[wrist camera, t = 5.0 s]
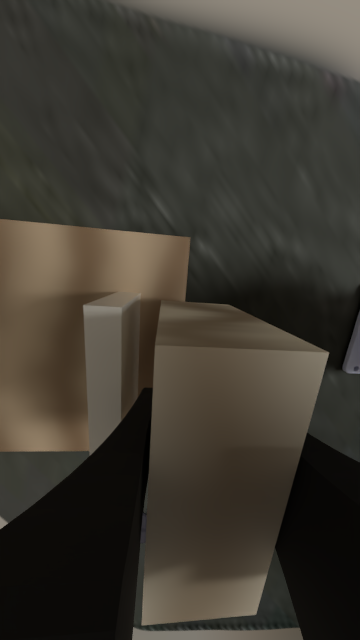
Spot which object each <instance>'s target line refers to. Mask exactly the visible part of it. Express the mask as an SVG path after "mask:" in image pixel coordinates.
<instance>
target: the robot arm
mask: <svg viewBox="0 0 360 640" xmlns="http://www.w3.org/2000/svg"><path fill="white" fill-rule="evenodd" d="M342 369H343V371H345V372H347V373H354V374H360V311H359V314H358V317H357V320H356V324H355V327H354V330H353V334H352V337H351V340H350V343H349V347H348V350H347V353H346V357H345V360H344V363H343V367H342ZM152 398H153V388H146V387H144V388H143V389H142V391H141V393H140V395H139V396H138V398H137V400H136V401H135V403H134V404H133V406H132V407H131V409H130V410H129V411H128V413H127V414H126V416H125V417H124V418H123V419H122V421H121V422H120V423H119V424H118V426H117V427H116V428H115V429H114V431H113V432H112V433H111V434H110V435H109V436H108V437H107V439H106V440H105V441H104V442H103V443H102V444H101V445H100V446H99V447H98V448H97V449H96V450H95V451H94V452H93V453H92V454H91V455H90V456H89V457H88V458H87V459H86V460H85V461H84V462H83V463H82V464H81V465H80V466H79V467H78V468H76V469H75V470H74V471H73V472H72V473H71V474H70V475H69V476H68V477H66V478H65V479H64V480H63V481H62V482H60V483H59V484H58V485H57V486H56V487H54V488H53V489H52V490H51V491H50V492H48V493H47V494H46V495H45V496H44V497H42V498H41V499H40V500H39V501H37V502H36V503H35V504H34V505H32V506H31V507H30V508H29V509H27V510H26V511H25V512H23V513H22V514H20V515H19V516H18V517H16V518H15V519H14V520H12V521H11V522H10V523H8V524H7V525H6V526H4V527H3V528H2V529H0V640H132V634H133V622H134V610H135V598H136V586H137V575H138V563H139V551H140V540H141V528H142V517H143V508H144V500H145V493H146V487H147V481H148V474H149V461H150V440H151V419H152ZM275 548H276V551H277V554H278V558H279V561H280V564H281V567H282V570H283V573H284V576H285V579H286V583H287V586H288V589H289V593H290V596H291V599H292V603H293V606H294V609H295V613H296V616H297V619H298V623H299V626H300V629H301V633H302V636H303V640H360V463H359V462H357V461H355V460H353V459H352V458H350V457H348V456H346V455H344V454H342V453H340V452H339V451H337V450H335V449H333V448H332V447H330V446H328V445H326V444H325V443H323V442H321V441H320V440H318V439H316V438H315V437H313V436H311V435H310V434H308V433H307V434H306V438H305V441H304V445H303V448H302V452H301V455H300V459H299V463H298V466H297V470H296V473H295V477H294V480H293V484H292V488H291V491H290V495H289V498H288V502H287V505H286V509H285V513H284V516H283V520H282V523H281V527H280V530H279V534H278V538H277V541H276V545H275Z"/></svg>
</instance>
